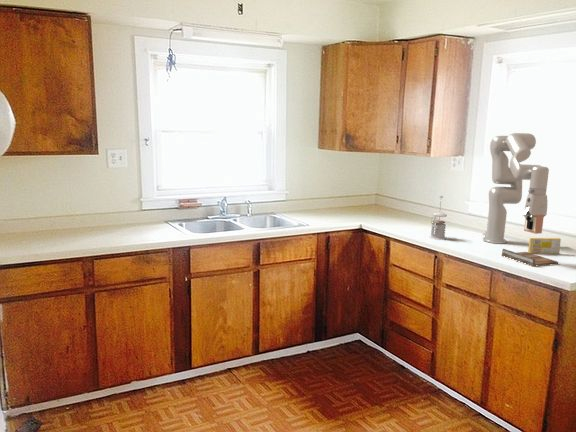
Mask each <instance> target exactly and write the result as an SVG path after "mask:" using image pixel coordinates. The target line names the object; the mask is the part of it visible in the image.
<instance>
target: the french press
mask: <svg viewBox="0 0 576 432" xmlns="http://www.w3.org/2000/svg"><path fill="white" fill-rule="evenodd" d="M439 198H440V199H442V198H444V196H443V195H439ZM439 205H440V206H439V207H440V208H439V209H441V207H442V206H441V205H442V202H440V204H439ZM446 217H448V216H447V214H446V213H444V212H443V211H437V212H434V213H432V217H431V221H430V223H431V231H430V232H431V233H430V236H428V238H429V239H432V240H437V241H444V240H447V237H446V236H445V235H446V221H445V220H440V218H446ZM436 218H438V219H437V220H435V219H436Z"/></svg>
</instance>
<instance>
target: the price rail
mask: <svg viewBox="0 0 576 432" xmlns="http://www.w3.org/2000/svg"><path fill="white" fill-rule="evenodd" d="M502 254H505V255H508V256H511V257H514V258H517V259H520V260H523V261H526V262H529V263H532V264H535V259H534V258H531V257H527V256H524V255H521V254H518V253H516V252H514V251H512V250H509V249H506V248H502V253H501V255H502Z"/></svg>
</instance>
